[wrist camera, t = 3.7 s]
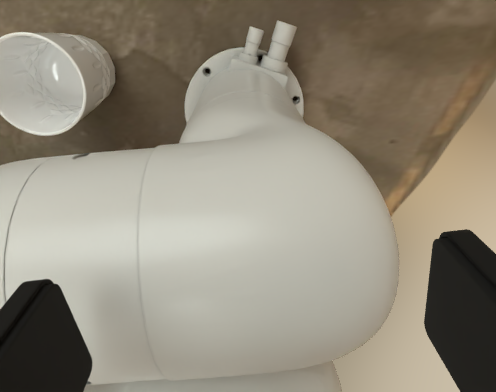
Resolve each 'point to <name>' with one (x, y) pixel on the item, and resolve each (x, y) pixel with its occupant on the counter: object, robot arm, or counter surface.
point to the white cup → (52, 80)
